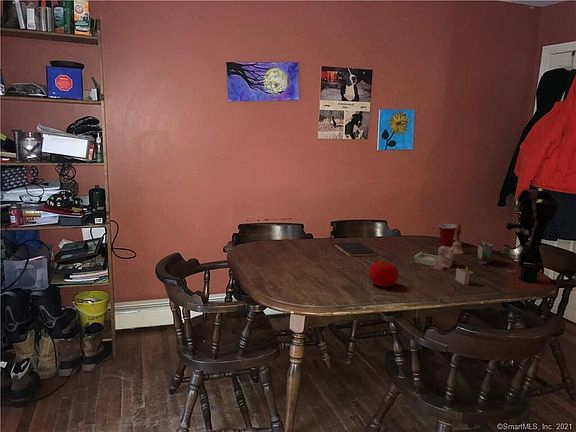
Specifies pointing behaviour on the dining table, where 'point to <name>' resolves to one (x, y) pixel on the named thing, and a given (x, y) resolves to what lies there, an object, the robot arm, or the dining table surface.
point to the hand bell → (457, 242)
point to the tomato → (383, 273)
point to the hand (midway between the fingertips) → (522, 246)
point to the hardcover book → (356, 249)
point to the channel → (420, 259)
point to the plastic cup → (447, 233)
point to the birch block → (443, 256)
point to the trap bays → (439, 266)
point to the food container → (484, 252)
